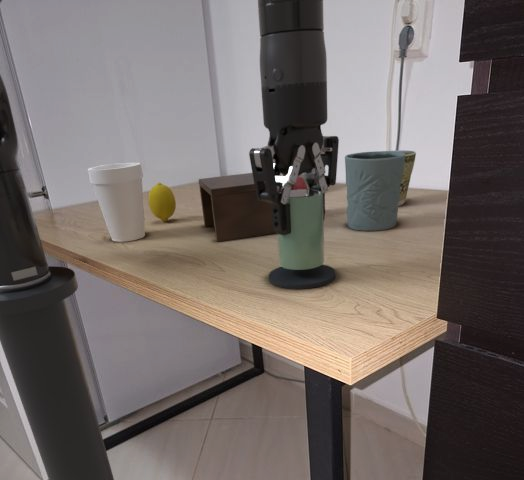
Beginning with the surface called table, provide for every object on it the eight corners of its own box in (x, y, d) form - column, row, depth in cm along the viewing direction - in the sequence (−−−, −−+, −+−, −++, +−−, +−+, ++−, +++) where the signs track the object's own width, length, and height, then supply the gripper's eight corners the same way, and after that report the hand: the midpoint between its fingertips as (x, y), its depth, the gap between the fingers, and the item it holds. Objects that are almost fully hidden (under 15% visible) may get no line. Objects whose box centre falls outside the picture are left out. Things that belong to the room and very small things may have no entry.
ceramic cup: (404, 210, 99) (407, 156, 94) (356, 207, 104) (357, 157, 99) (422, 197, 108) (426, 148, 104) (378, 195, 113) (380, 148, 109)
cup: (287, 272, 63) (283, 199, 59) (273, 260, 68) (269, 192, 64) (331, 265, 64) (330, 193, 60) (314, 253, 70) (312, 187, 66)
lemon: (146, 223, 106) (139, 184, 102) (165, 218, 110) (159, 180, 106) (165, 225, 103) (158, 185, 99) (183, 219, 107) (177, 180, 103)
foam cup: (152, 240, 92) (138, 166, 86) (101, 246, 91) (84, 171, 85) (153, 229, 101) (141, 161, 95) (107, 234, 100) (92, 165, 94)
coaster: (280, 293, 62) (279, 288, 62) (261, 273, 70) (261, 268, 70) (346, 282, 64) (346, 277, 64) (320, 263, 72) (320, 259, 72)
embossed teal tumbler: (354, 217, 96) (354, 151, 90) (407, 219, 92) (411, 149, 86) (337, 231, 88) (336, 159, 83) (394, 233, 84) (398, 157, 78)
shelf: (217, 241, 88) (211, 189, 84) (204, 225, 100) (198, 179, 96) (292, 231, 90) (290, 179, 86) (271, 216, 103) (268, 170, 98)
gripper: (308, 81, 64) (312, 214, 71) (225, 86, 55) (239, 237, 62) (357, 76, 59) (356, 219, 66) (274, 81, 50) (283, 245, 58)
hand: (299, 227), depth 64 cm, fingers closed on cup, 6 cm apart
